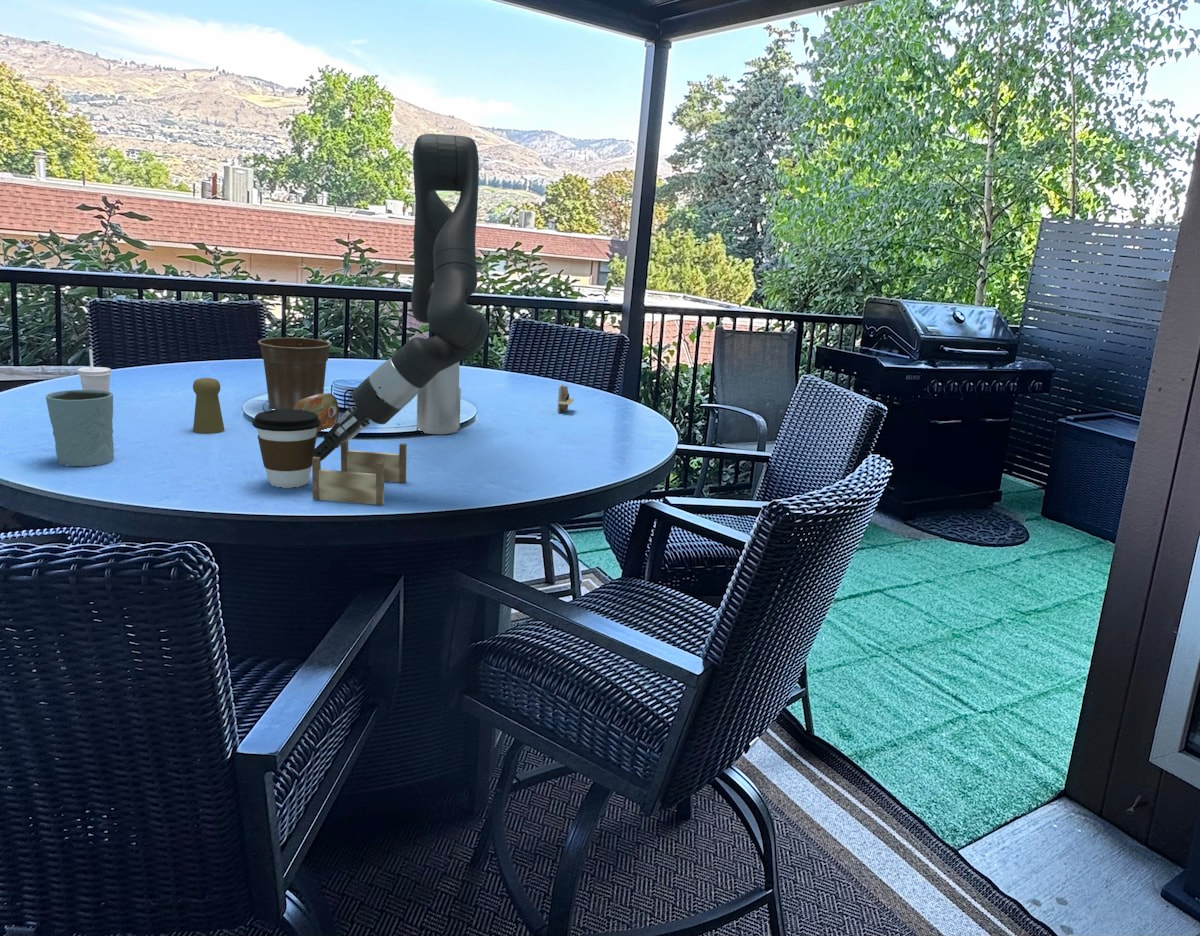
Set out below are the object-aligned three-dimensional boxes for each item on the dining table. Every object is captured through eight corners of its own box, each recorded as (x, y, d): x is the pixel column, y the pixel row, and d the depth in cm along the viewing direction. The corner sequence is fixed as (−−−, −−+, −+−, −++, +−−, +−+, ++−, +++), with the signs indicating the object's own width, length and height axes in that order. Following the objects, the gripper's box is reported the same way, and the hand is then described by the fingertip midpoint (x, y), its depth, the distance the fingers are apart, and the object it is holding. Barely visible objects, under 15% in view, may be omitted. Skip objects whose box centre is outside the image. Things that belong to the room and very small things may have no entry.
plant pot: (340, 414, 201) (340, 346, 197) (270, 417, 192) (267, 347, 188) (320, 401, 214) (319, 337, 210) (253, 404, 205) (250, 337, 201)
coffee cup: (240, 485, 143) (237, 415, 140) (288, 471, 153) (285, 406, 150) (290, 496, 139) (287, 425, 136) (335, 481, 148) (334, 414, 145)
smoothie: (74, 413, 183) (68, 348, 179) (101, 408, 189) (95, 346, 185) (95, 417, 181) (89, 352, 177) (121, 412, 187) (116, 349, 183)
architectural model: (573, 412, 225) (575, 384, 223) (569, 417, 218) (571, 389, 216) (560, 411, 225) (562, 383, 223) (556, 416, 219) (558, 387, 217)
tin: (304, 442, 173) (303, 402, 171) (290, 440, 174) (289, 400, 172) (340, 428, 187) (340, 390, 185) (327, 426, 188) (326, 389, 186)
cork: (231, 430, 179) (228, 378, 176) (207, 435, 173) (204, 382, 170) (210, 425, 181) (207, 375, 178) (186, 430, 176) (183, 378, 173)
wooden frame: (406, 481, 152) (406, 443, 150) (382, 505, 138) (382, 464, 136) (343, 476, 152) (342, 438, 150) (312, 499, 138) (312, 458, 136)
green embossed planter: (71, 471, 144) (64, 402, 140) (40, 460, 149) (33, 392, 146) (130, 460, 152) (125, 395, 149) (99, 450, 157) (93, 386, 154)
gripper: (383, 368, 146) (315, 432, 149) (359, 379, 133) (284, 449, 136) (413, 400, 147) (345, 463, 150) (392, 414, 134) (318, 483, 138)
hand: (316, 456), depth 143 cm, fingers closed
